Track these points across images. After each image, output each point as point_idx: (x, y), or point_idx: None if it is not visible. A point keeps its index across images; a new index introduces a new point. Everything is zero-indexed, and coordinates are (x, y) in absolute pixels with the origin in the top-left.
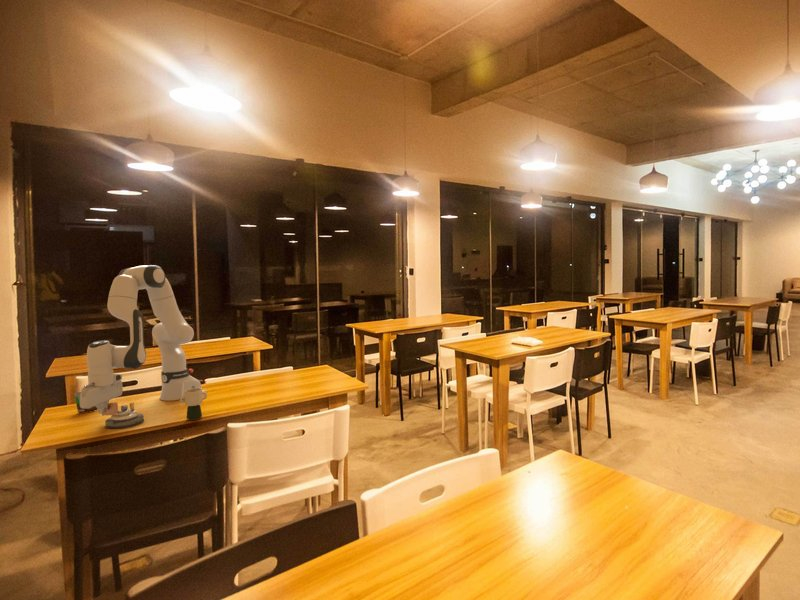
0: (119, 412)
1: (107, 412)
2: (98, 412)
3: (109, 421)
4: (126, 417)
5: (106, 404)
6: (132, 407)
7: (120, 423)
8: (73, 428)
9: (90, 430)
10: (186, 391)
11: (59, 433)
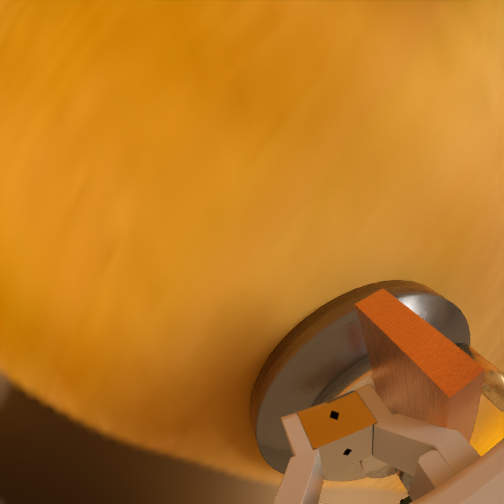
0: (366, 465)
1: (383, 368)
2: (283, 422)
3: (304, 389)
4: (337, 479)
5: (408, 467)
6: (482, 392)
7: (284, 469)
8: (138, 106)
9: (162, 324)
10: None
11: (12, 135)
